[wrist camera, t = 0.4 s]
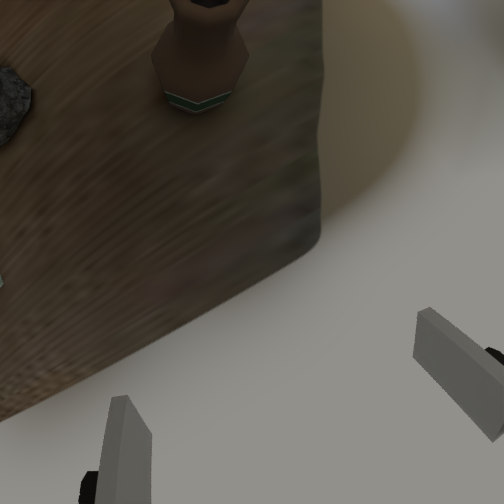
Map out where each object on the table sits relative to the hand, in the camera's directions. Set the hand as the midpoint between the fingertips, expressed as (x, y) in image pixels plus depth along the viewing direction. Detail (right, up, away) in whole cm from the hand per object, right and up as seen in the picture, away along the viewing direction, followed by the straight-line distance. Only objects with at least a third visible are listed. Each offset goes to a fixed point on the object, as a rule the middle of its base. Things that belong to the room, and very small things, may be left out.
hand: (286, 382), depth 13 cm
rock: (-33, +24, +15) cm, 44 cm away
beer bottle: (-8, +24, +20) cm, 33 cm away
